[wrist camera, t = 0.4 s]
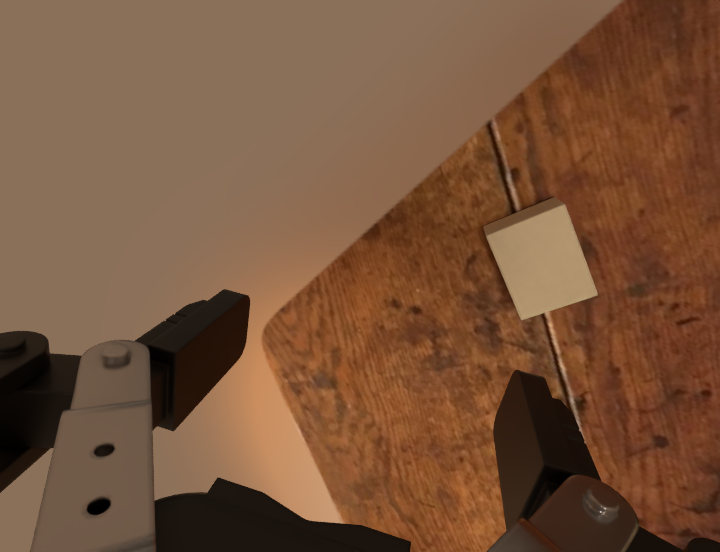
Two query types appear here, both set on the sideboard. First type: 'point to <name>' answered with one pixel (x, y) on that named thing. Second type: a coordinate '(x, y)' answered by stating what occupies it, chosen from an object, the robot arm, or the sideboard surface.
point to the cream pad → (540, 258)
